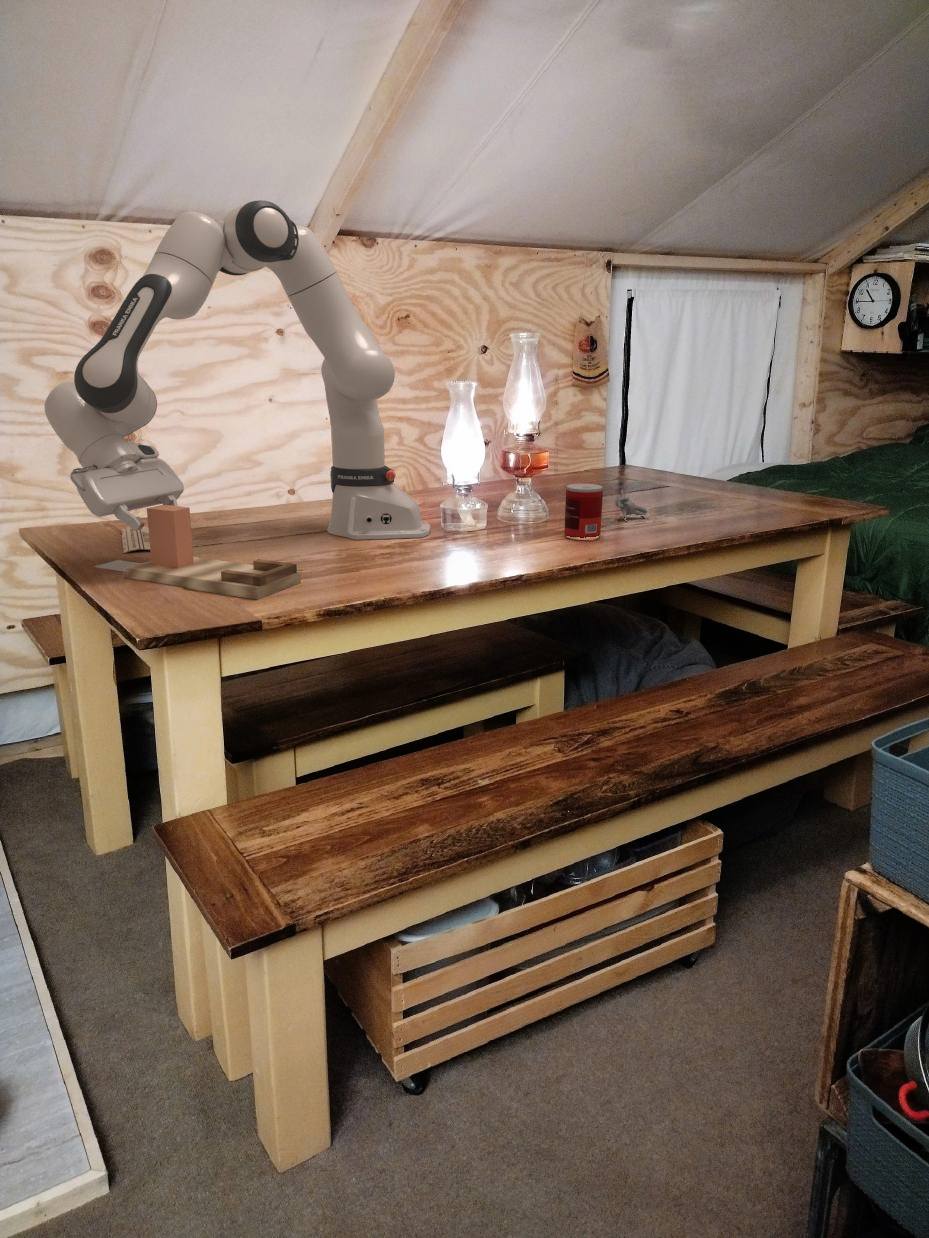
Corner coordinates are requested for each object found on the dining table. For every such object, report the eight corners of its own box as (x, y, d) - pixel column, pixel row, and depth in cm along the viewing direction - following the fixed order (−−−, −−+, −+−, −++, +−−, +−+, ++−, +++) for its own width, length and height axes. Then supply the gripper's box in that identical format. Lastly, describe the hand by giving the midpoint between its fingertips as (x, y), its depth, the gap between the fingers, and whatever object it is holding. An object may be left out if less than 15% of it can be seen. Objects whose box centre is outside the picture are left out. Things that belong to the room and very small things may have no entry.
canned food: (604, 535, 200) (607, 485, 197) (593, 542, 194) (596, 490, 190) (571, 532, 204) (573, 482, 200) (559, 539, 197) (561, 487, 193)
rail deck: (126, 579, 161) (124, 559, 160) (175, 564, 171) (173, 546, 170) (257, 599, 149) (256, 578, 148) (300, 582, 160) (299, 563, 159)
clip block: (151, 564, 163) (146, 508, 160) (167, 559, 166) (162, 504, 163) (178, 568, 160) (173, 511, 157) (193, 563, 164) (189, 507, 161)
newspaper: (121, 534, 199) (120, 526, 199) (155, 532, 202) (155, 524, 201) (123, 558, 178) (123, 549, 178) (162, 556, 180) (161, 547, 180)
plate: (93, 568, 168) (93, 566, 167) (118, 561, 173) (118, 560, 173) (126, 573, 164) (126, 571, 164) (150, 566, 170) (150, 564, 169)
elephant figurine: (656, 523, 215) (624, 511, 212) (641, 537, 220) (609, 526, 216) (652, 491, 221) (620, 479, 218) (637, 506, 225) (606, 494, 222)
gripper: (73, 458, 152) (123, 522, 151) (161, 446, 170) (207, 503, 169) (56, 482, 155) (106, 545, 154) (144, 468, 173) (189, 525, 172)
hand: (159, 523), depth 162 cm, fingers open, 8 cm apart
